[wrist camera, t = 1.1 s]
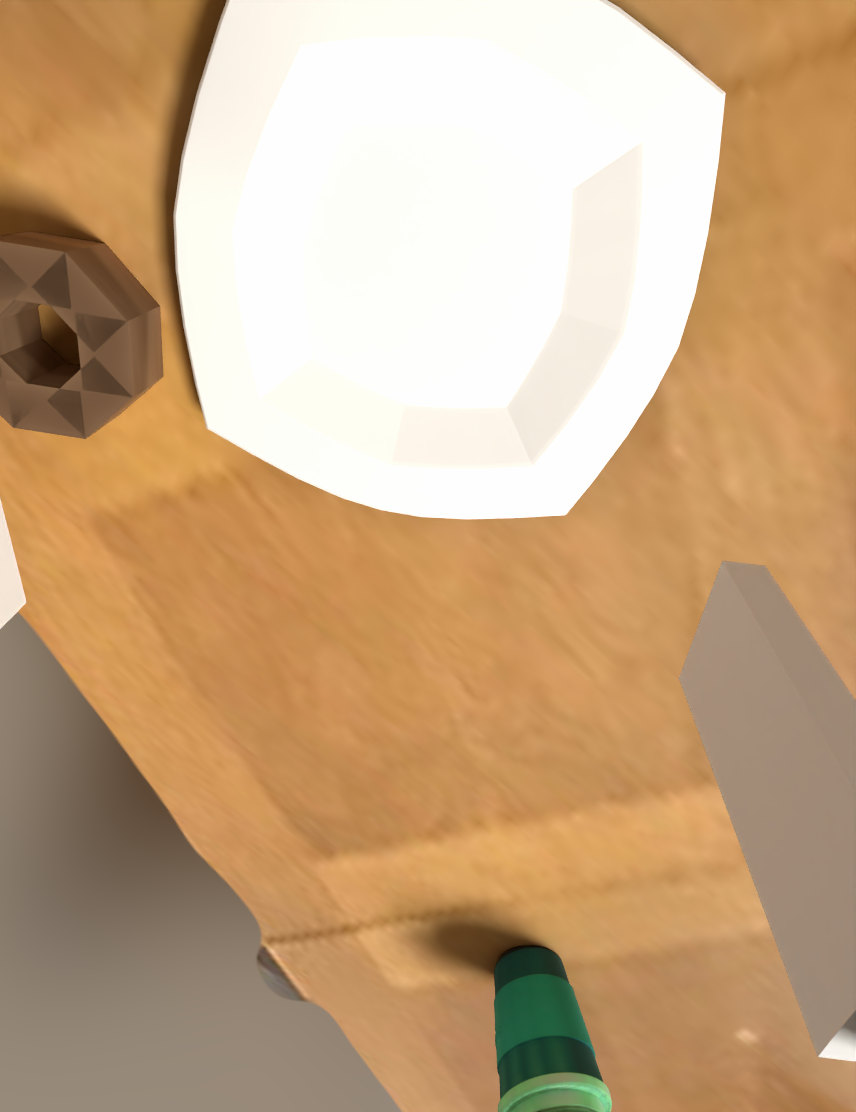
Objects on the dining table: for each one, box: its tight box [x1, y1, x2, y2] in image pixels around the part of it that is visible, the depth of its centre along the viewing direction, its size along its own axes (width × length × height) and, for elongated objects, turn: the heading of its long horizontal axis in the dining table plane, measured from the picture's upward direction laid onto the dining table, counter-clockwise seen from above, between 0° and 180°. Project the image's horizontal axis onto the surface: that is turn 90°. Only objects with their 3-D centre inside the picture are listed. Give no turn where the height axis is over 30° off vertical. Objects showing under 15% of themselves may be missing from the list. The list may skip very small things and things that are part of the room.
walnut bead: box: [0, 231, 163, 439], centre depth 32 cm, size 8×8×4 cm
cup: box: [494, 946, 612, 1112], centre depth 53 cm, size 8×8×12 cm
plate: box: [173, 0, 725, 519], centre depth 31 cm, size 23×23×2 cm
